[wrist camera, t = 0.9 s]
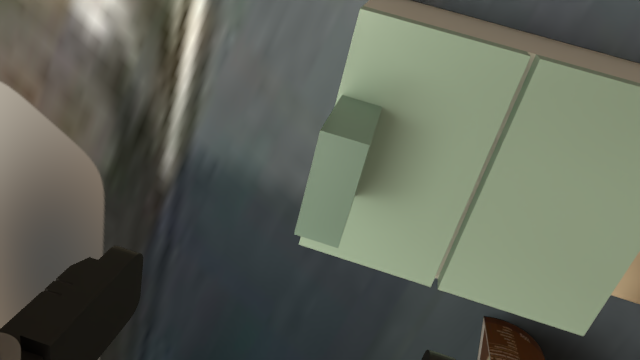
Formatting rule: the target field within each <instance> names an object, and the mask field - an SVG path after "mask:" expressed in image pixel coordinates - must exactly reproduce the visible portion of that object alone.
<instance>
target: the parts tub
mask: <svg viewBox="0 0 640 360" xmlns="http://www.w3.org/2000/svg"><path fill="white" fill-rule="evenodd" d="M364 6H365V7H369V8H373V9H376V10H380V11H383V12H387V13H390V14H394V15H398V16H401V17H405V18H408V19H412V20H416V21H419V22H423V23H426V24H430V25H433V26H437V27H441V28H444V29H448V30H451V31H455V32H458V33H462V34H466V35H469V36H473V37H476V38H480V39H483V40H487V41H491V42H494V43H498V44H501V45H505V46H509V47H512V48H516V49H519V50H523V51H526V52H528V53H529V55H530V56H531V57H530V59H529V62H528V64H527V66H526V69H525V71H524V73H523V75H522V78H521V80H520V82H519V85H518V87H517V89H516V92H515V94H514V96H513V99H512V101H511V103H510V105H509V108H508V110H507V112H506V115H505V117H504V119H503V122H502V124H501V126H500V128H499V131H498V133H497V135H496V138H495V140H494V142H493V145H492V147H491V149H490V152H489V154H488V156H487V158H486V161H485V163H484V165H483V168H482V170H481V172H480V175H479V177H478V179H477V181H476V184H475V186H474V188H473V191H472V193H471V195H470V198H469V200H468V202H467V204H466V207H465V209H464V211H463V214H462V216H461V218H460V221H459V223H458V225H457V228H456V230H455V232H454V234H453V237H452V239H451V241H450V244H449V246H448V248H447V251H446V253H445V255H444V257H443V260H442V262H441V264H440V267H439V269H438V271H437V274H436V276H435V278H438V290H441V291H445V292H448V293H451V294H454V295H457V296H460V297H463V298H466V299H469V300H472V301H476V302H479V303H482V304H485V305H488V306H491V307H494V308H497V309H500V310H503V311H506V312H510V313H513V314H516V315H519V316H522V317H525V318H528V319H531V320H534V321H537V322H541V323H544V324H547V325H550V326H553V327H556V328H559V329H562V330H565V331H568V332H571V333H575V334H578V335H581V336H584V335H585V333H586V332H587V330H588V329H589V327H590V326H591V324H592V323H593V321H594V320H595V318H596V316H597V315H598V313H599V312H600V310H601V309H602V307H603V306H604V304H605V303H606V301H607V300H608V298H609V297H610V295H611V294H612V292H613V291H614V289H615V288H616V286H617V285H618V283H619V282H620V280H621V279H622V277H623V276H624V274H625V273H626V271H627V270H628V268H629V266H630V265H631V263H632V262H633V260H634V259H635V257H636V256H637V254H638V253H639V251H640V64H639V63H636V62H632V61H629V60H625V59H621V58H618V57H614V56H611V55H607V54H603V53H600V52H596V51H592V50H589V49H585V48H582V47H578V46H574V45H571V44H567V43H563V42H560V41H556V40H553V39H549V38H545V37H542V36H538V35H535V34H531V33H527V32H524V31H520V30H516V29H513V28H509V27H506V26H502V25H498V24H495V23H491V22H488V21H484V20H480V19H477V18H473V17H469V16H466V15H462V14H459V13H455V12H451V11H448V10H444V9H440V8H437V7H433V6H430V5H426V4H422V3H419V2H415V1H412V0H369V1H368V2H367V3H366V4H365V5H364Z"/></svg>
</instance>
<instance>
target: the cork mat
mask: <svg viewBox="0 0 640 360" xmlns="http://www.w3.org/2000/svg"><path fill="white" fill-rule="evenodd" d="M611 295H613V296H616V297H619V298H622V299H625V300H628V301H632V302H635V303H638V304H640V251H639V253H638V254H637V256H636V257H635V259H634V260H633V262H632V263H631V265H630V266H629V268H628V270H627V271H626V273H625V274H624V276H623V277H622V279H621V280H620V282H619V283H618V285H617V286H616V288H615V289H614V291H613V292H612V294H611Z"/></svg>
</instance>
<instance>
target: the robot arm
mask: <svg viewBox="0 0 640 360" xmlns="http://www.w3.org/2000/svg"><path fill="white" fill-rule="evenodd" d="M142 268H143V256H142V254H140V253H137V252H134V251H131V250H128V249H125V248H122V247H119V246H113V247H112V248H110V249H109V250H108V251H107V252H106V253H105V254H104V255H103V256H102V257H101V258H100V259H99V260H96V259H93V258H90V257H89V258H87V259H85V260H82V261H80V262H78V263H76V264H74V265H71V266H70V267H69V268H68V269H66V270H65V271H64V272H63V273H62V274H61V275H60V276H59V277H58V278H57V279H56V281H53V282H52V283H51V284H50V285H49V286H48V287H47V288H46V289H45V291H44V292H41V293H40V294H39V295H38V296H36V297H35V298H34V299H33V300H32V301H31V302H30V303H29V304H28V305H27V306H25V308H23V309H22V310H21V311H20V312H19V313H18V314H17V315H16V316H14V317H13V318H12V319H11V320H10V321H9V322H8V323H7V324H5V325H4V326H3V327H2V328H1V329H0V360H97V359H98V358H99V357H100V356H101V355H102V353H103V352H104V351H105V350H106V348H107V347H108V346H109V345H110V343H111V342H112V341H113V340H114V338H115V337H116V336H117V335H118V333H119V332H120V331H121V330H122V328H123V327H124V326H125V325H126V323H127V322H128V321H129V320H130V318H131V317H132V315H133V314H134V312H135V310H136V308H137V305H138V303H139V299H140V292H141V280H142ZM422 360H456V359H455V358H452V357H449V356H446V355H443V354H440V353H437V352H434V351H431V350H426V352H425V353H424V355H423V357H422Z"/></svg>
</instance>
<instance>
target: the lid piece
mask: <svg viewBox="0 0 640 360" xmlns="http://www.w3.org/2000/svg"><path fill="white" fill-rule="evenodd" d="M530 57H531V56H530V55H529V53H528V52H526V51H523V50H519V49H516V48H512V47H509V46H505V45H501V44H498V43H494V42H491V41H487V40H483V39H480V38H476V37H473V36H469V35H466V34H462V33H458V32H455V31H451V30H448V29H444V28H441V27H437V26H433V25H430V24H426V23H423V22H419V21H416V20H412V19H408V18H405V17H401V16H398V15H394V14H390V13H387V12H383V11H380V10H376V9H373V8H369V7H365V6H362V7H361V8H360V11H359V15H358V19H357V23H356V27H355V30H354V34H353V38H352V42H351V46H350V50H349V54H348V57H347V61H346V65H345V69H344V73H343V77H342V80H341V84H340V88H339V92H338V96H337V100H336V104H335V107H334V109H333V111H332V112H331V114H330V116H329V117H328V119H327V120H326V122H325V124H324V125H323V127H322V129H321V130H320V134H319V138H318V142H317V146H316V150H315V154H314V158H313V162H312V166H311V170H310V174H309V178H308V182H307V186H306V190H305V194H304V198H303V201H302V205H301V209H300V213H299V217H298V221H297V225H296V229H295V233H294V234H295V235H298V236H301V238H300V242H299V245H302V246H305V247H308V248H311V249H314V250H318V251H321V252H324V253H327V254H330V255H333V256H336V257H339V258H342V259H345V260H349V261H352V262H355V263H358V264H361V265H364V266H367V267H370V268H373V269H376V270H380V271H383V272H386V273H389V274H392V275H395V276H398V277H401V278H404V279H407V280H410V281H414V282H417V283H420V284H423V285H426V286H429V287H431V285H432V283H433V281H434V278H435V276H436V274H437V271H438V269H439V267H440V264H441V262H442V260H443V257H444V255H445V253H446V251H447V248H448V246H449V244H450V241H451V239H452V237H453V234H454V232H455V230H456V228H457V225H458V223H459V221H460V218H461V216H462V214H463V211H464V209H465V207H466V204H467V202H468V200H469V198H470V195H471V193H472V191H473V188H474V186H475V184H476V181H477V179H478V177H479V175H480V172H481V170H482V168H483V165H484V163H485V161H486V158H487V156H488V154H489V152H490V149H491V147H492V145H493V142H494V140H495V138H496V135H497V133H498V131H499V128H500V126H501V124H502V122H503V119H504V117H505V115H506V112H507V110H508V108H509V105H510V103H511V101H512V99H513V96H514V94H515V92H516V89H517V87H518V85H519V82H520V80H521V78H522V75H523V73H524V71H525V69H526V66H527V64H528V62H529V59H530Z"/></svg>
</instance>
